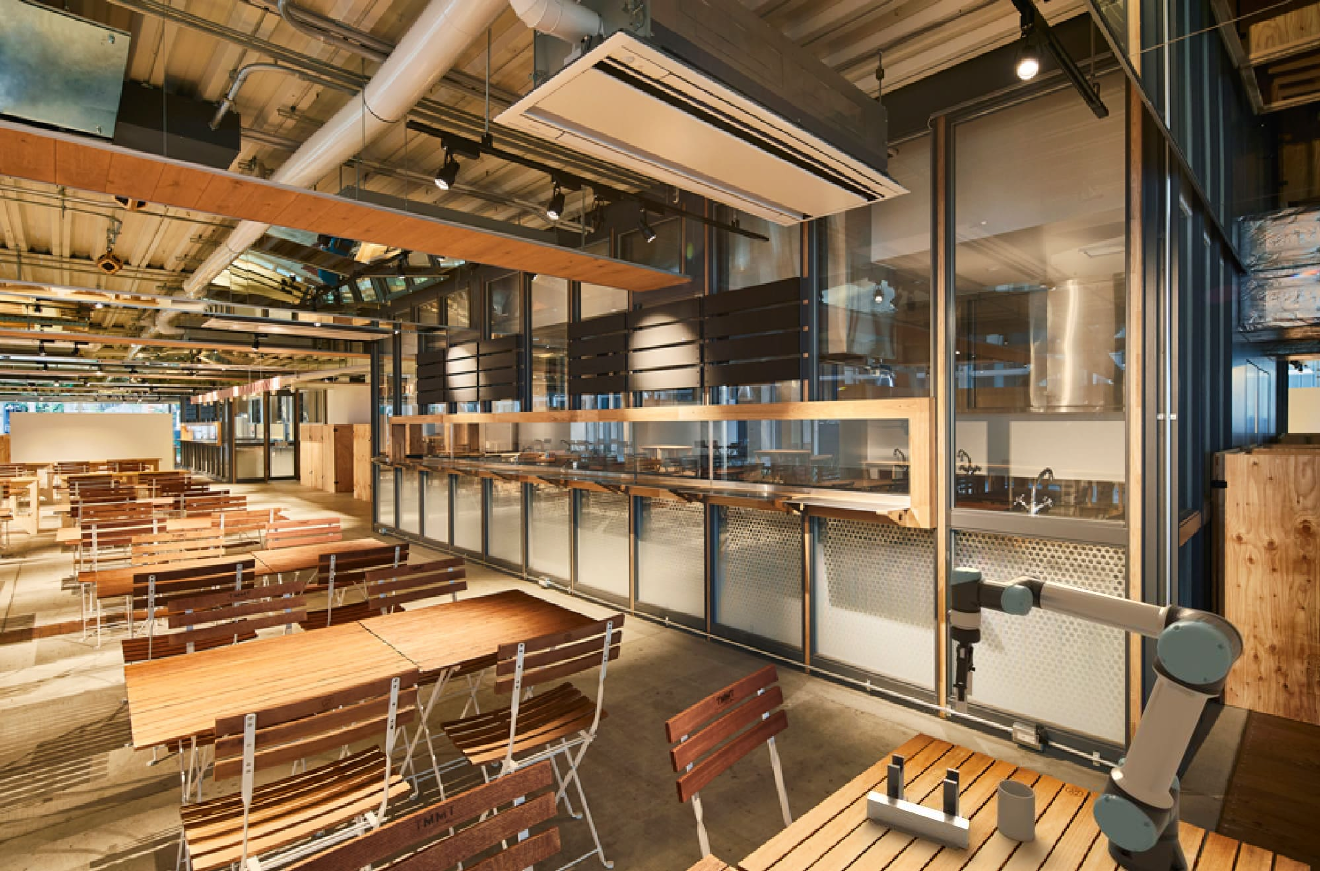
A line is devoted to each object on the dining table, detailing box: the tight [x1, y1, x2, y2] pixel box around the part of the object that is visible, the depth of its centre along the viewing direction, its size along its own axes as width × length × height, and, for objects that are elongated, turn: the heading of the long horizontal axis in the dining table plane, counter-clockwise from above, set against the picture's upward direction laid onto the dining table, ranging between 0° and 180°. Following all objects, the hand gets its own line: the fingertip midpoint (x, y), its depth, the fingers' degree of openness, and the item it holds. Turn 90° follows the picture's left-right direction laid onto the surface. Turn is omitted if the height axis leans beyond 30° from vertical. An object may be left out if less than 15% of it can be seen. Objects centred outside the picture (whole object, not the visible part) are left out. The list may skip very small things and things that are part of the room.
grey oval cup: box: [996, 779, 1036, 842], centre depth 164 cm, size 12×8×11 cm
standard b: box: [886, 753, 909, 802], centre depth 174 cm, size 5×8×12 cm, turn 149°
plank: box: [873, 820, 960, 851], centre depth 162 cm, size 20×6×1 cm, turn 59°
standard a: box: [941, 767, 964, 819], centre depth 166 cm, size 5×8×12 cm, turn 148°
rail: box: [866, 790, 970, 850], centre depth 162 cm, size 24×4×5 cm, turn 59°
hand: (964, 703), depth 172 cm, fingers open, 13 cm apart
